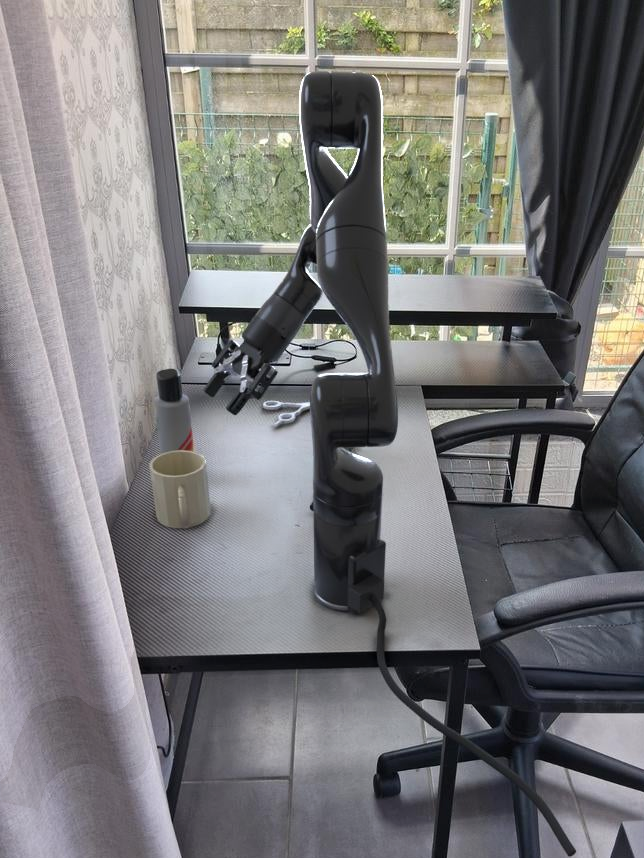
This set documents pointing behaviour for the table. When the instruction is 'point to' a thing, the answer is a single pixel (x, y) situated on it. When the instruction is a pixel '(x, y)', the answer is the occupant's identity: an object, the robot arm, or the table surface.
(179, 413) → the lotion bottle
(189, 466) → the mug
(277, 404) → the scissors
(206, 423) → the table surface
